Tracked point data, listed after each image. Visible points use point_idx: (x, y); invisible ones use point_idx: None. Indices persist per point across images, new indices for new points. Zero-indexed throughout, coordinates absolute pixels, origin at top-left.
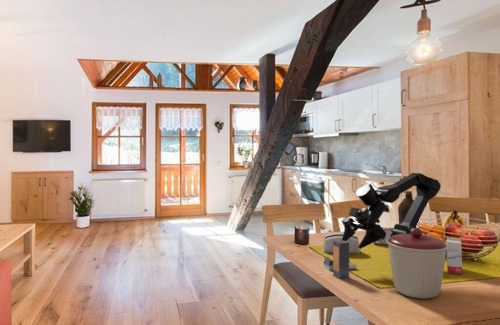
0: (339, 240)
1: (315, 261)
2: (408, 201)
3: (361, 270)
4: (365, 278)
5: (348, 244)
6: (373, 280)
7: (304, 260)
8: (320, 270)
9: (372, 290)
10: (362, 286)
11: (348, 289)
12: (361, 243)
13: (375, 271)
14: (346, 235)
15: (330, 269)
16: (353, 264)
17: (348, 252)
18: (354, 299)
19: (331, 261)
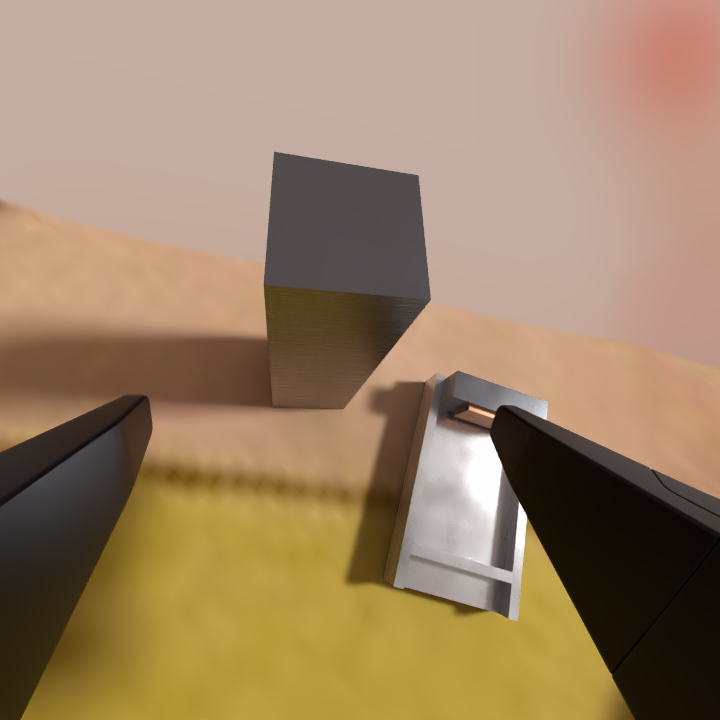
0: (414, 255)
1: (593, 417)
2: None
3: (339, 597)
4: (196, 497)
5: (264, 294)
6: (129, 524)
7: (620, 372)
8: (446, 341)
9: (10, 377)
10: (104, 371)
11: (129, 273)
12: (70, 420)
13: (265, 708)
14: (582, 495)
15: (426, 386)
16: (399, 562)
17: (268, 340)
18: (7, 207)
19: (453, 385)
